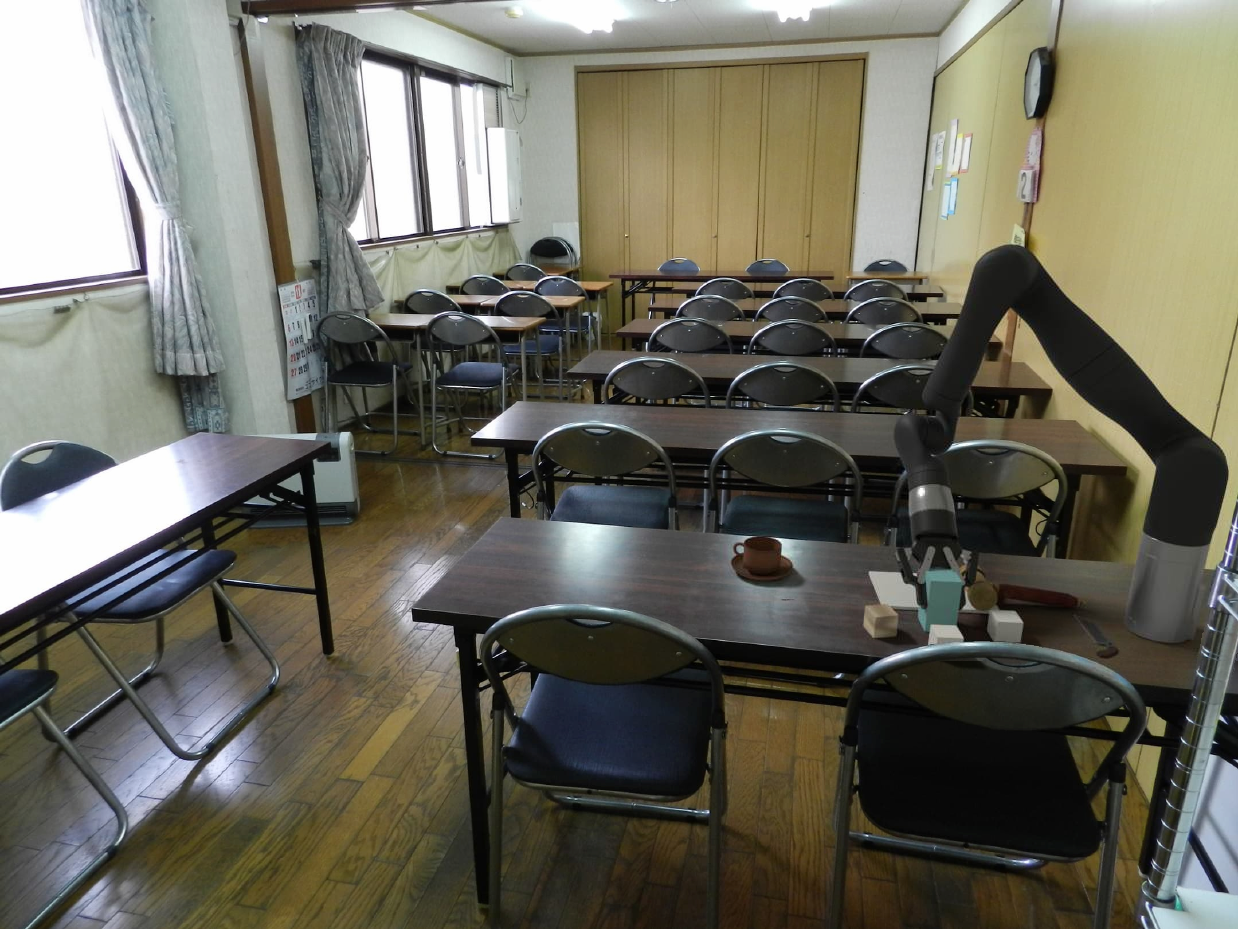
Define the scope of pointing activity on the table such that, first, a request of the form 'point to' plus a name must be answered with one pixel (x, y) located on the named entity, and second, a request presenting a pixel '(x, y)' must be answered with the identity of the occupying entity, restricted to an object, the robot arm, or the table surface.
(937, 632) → the white cube back
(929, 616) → the teal block
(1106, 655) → the knife
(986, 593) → the gavel
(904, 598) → the white mat
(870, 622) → the birch cube right
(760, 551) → the cup and saucer
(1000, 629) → the grey cube left
